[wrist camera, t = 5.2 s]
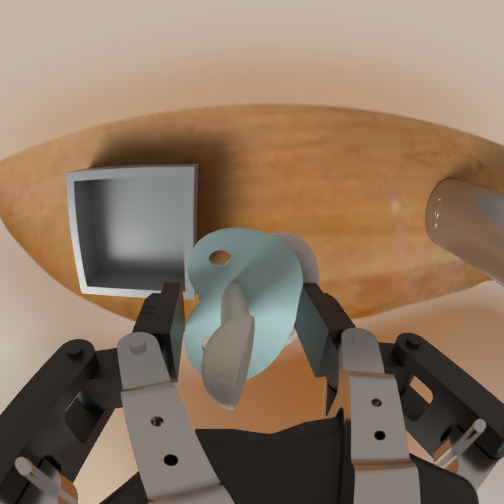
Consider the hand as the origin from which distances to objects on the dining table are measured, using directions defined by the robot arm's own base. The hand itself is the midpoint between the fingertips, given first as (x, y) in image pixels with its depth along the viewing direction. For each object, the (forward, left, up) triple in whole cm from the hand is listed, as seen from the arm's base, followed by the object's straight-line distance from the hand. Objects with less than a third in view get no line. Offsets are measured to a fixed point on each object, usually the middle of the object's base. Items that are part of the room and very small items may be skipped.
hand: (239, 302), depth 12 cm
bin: (+9, +1, -16) cm, 18 cm away
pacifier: (-1, 0, -1) cm, 1 cm away
